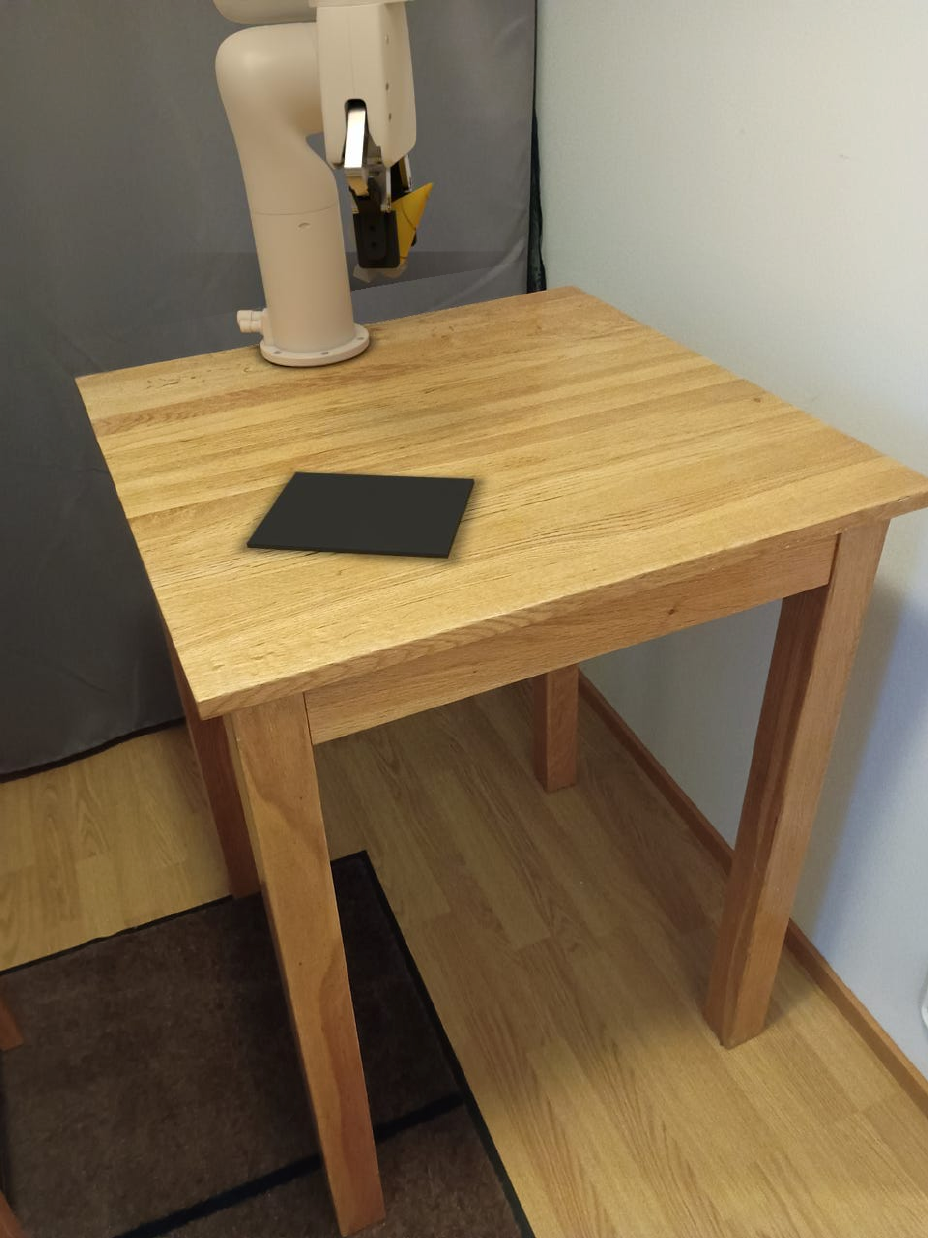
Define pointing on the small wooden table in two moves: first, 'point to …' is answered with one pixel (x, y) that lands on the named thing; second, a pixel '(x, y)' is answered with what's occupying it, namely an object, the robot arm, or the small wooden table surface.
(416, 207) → the yellow cone
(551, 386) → the small wooden table surface
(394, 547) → the mat
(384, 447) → the small wooden table surface
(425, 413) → the small wooden table surface
